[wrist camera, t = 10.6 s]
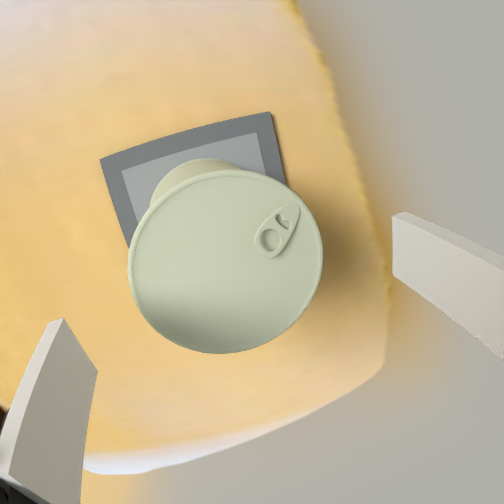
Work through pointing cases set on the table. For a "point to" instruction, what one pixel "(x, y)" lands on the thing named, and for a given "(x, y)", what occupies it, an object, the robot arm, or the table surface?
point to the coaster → (183, 150)
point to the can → (223, 258)
